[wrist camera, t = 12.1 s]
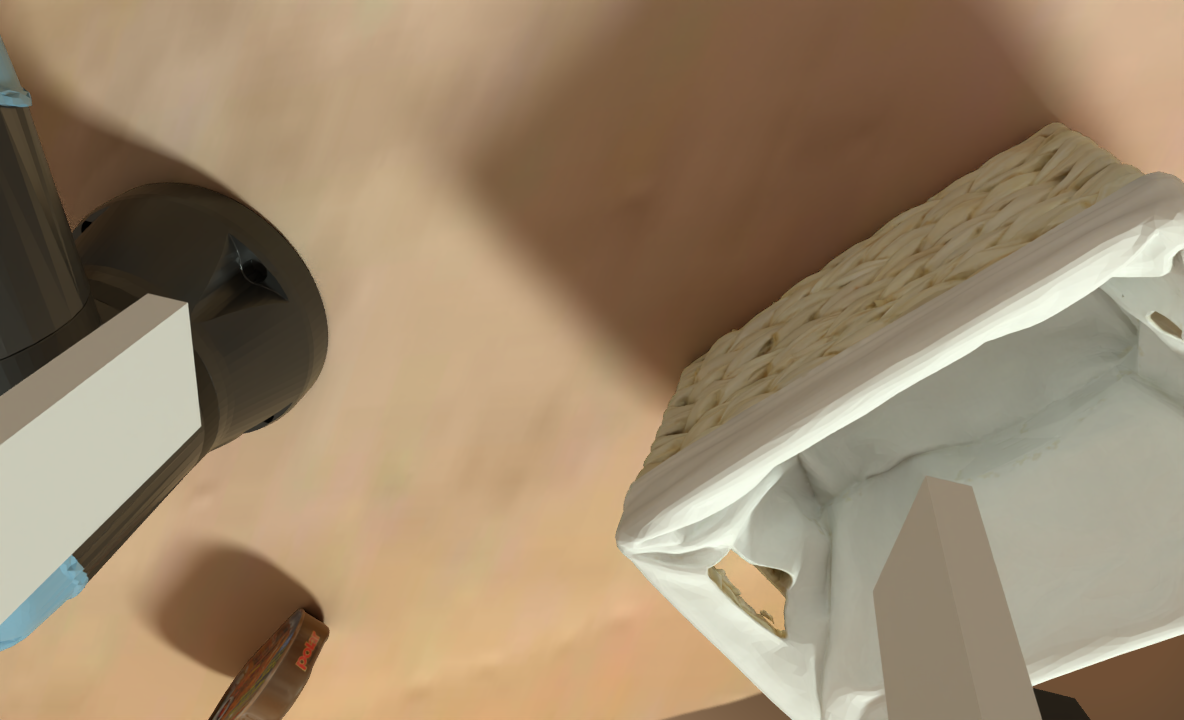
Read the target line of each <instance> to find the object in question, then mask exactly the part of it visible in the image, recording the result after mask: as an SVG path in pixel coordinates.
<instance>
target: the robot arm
mask: <svg viewBox="0 0 1184 720" xmlns="http://www.w3.org/2000/svg"><path fill="white" fill-rule="evenodd" d="M28 106H32V100H31V95H30V93H29V92H28V91H27V90H25V89H24V88H22V87H21V85H20V82H19V80H18V77H17V75H16V72H15V70H14V68H13V65H12V63H11V60H10V58H9V55H8V53H7V50H6V48H5V45H4V43H3V41H2V38H1V36H0V651H2V650H5V649H7V648H10V647H12V646H14V645H15V644H17V643H18V642H20V641H22V640H23V639H25V638H26V637H27V636H29V635H30V634H31V633H32V632H33V631H34V630H35V629H36V628H37V627H38V626H39V625H41V624H42V623H43V622H44V621H45V620H46V619H47V618H48V617H49V616H50V615H51V614H52V613H54V612H55V611H56V610H57V609H58V608H59V607H60V606H61V605H62V604H63V603H64V602H65V601H67V600H68V599H71V598H74V597H75V596H77V595H78V594H79V593H80V592H81V591H82V590H83V588H85V585H86V584H87V583H88V582H89V581H90V580H91V578H92V577H93V576H94V575H95V574H96V573H97V572H98V571H99V570H100V569H101V568H102V566H103V565H104V564H105V563H106V562H107V561H108V560H109V559H110V558H111V557H112V556H113V554H114V553H115V552H116V551H117V550H118V549H119V548H120V547H121V546H122V545H123V544H124V542H125V541H126V540H127V539H128V538H129V537H130V536H131V535H132V534H133V533H134V532H135V530H136V529H137V528H138V527H139V526H140V525H141V524H142V523H143V522H144V521H145V520H146V518H147V517H148V516H149V515H150V514H151V513H152V512H153V511H154V510H155V509H156V508H157V506H158V505H159V504H160V503H161V502H162V501H163V500H164V499H165V498H166V497H167V496H168V494H169V493H170V492H171V491H172V490H173V489H174V488H175V487H176V486H177V485H178V484H179V482H180V481H181V480H182V479H183V478H184V477H185V476H186V475H187V474H188V473H189V472H190V470H192V469H193V467H194V466H195V465H196V464H197V463H198V462H199V461H200V460H201V459H202V458H203V457H204V456H205V455H206V454H207V453H208V452H210V451H212V450H215V449H217V448H219V447H221V446H223V445H225V444H227V443H229V442H231V441H233V440H235V439H236V438H238V437H239V436H241V435H242V434H244V433H248V432H252V431H255V430H258V429H261V428H263V427H265V426H267V425H269V424H271V423H273V422H275V421H277V420H278V419H280V418H281V417H282V416H284V415H285V414H286V413H288V412H289V411H290V410H291V409H292V408H293V407H294V406H295V405H296V404H297V403H298V402H299V400H300V399H301V398H302V397H303V396H304V395H305V394H306V393H307V391H308V390H309V389H310V388H311V387H312V386H313V384H314V383H315V381H316V380H317V378H318V376H319V374H320V372H321V370H322V368H323V365H324V362H325V358H326V354H327V347H328V326H327V319H326V314H325V309H324V306H323V302H322V299H321V296H320V294H319V291H318V289H317V287H316V284H315V282H314V280H313V278H312V276H311V274H310V273H309V271H308V269H307V268H306V266H305V264H304V263H303V262H302V260H301V259H300V257H299V256H298V254H297V253H296V252H295V251H294V249H293V248H292V247H291V246H290V245H289V243H288V242H287V241H286V240H285V239H284V238H283V237H282V236H281V235H280V234H279V233H278V232H277V231H276V230H275V229H274V228H273V227H272V226H271V225H269V224H268V223H267V222H266V221H265V220H263V219H262V218H261V217H259V216H258V215H257V214H255V213H254V212H253V211H251V210H249V209H248V208H246V207H245V206H243V205H241V204H240V203H238V202H236V201H234V200H232V199H230V198H228V197H226V196H224V195H221V194H219V193H216V192H214V191H211V190H208V189H205V188H201V187H197V186H192V185H187V184H179V183H156V184H149V185H145V186H141V187H138V188H135V189H132V190H130V191H128V192H125V193H123V194H122V195H120V196H118V197H116V198H114V199H112V200H110V201H108V202H106V203H104V204H103V205H101V206H99V207H98V208H96V209H95V210H93V211H92V212H91V213H90V214H88V215H87V216H86V217H85V218H84V219H83V220H82V221H81V222H80V223H79V224H78V226H77V227H76V228H75V230H74V231H73V233H72V232H71V230H70V227H69V224H68V221H67V218H66V215H65V212H64V209H63V206H62V203H61V201H60V198H59V195H58V192H57V189H56V186H55V183H54V180H53V177H52V175H51V172H50V169H49V166H48V163H47V160H46V157H45V154H44V151H43V148H42V146H41V143H40V140H39V137H38V134H37V131H36V128H35V125H34V122H33V119H32V116H31V113H30V110H29V107H28ZM873 598H874V606H875V614H876V622H877V630H878V639H879V647H880V655H881V663H882V671H883V679H884V687H885V696H886V704H887V712H888V720H1090V718H1089V717H1088V716H1087V714H1086V713H1085V712H1084V710H1083V709H1082V708H1081V706H1080V705H1079V704H1078V702H1077V701H1076V700H1075V699H1074V698H1071V697H1067V696H1063V695H1059V694H1055V693H1051V692H1047V691H1043V690H1039V689H1035V688H1032V684H1031V681H1030V678H1029V674H1028V671H1027V668H1026V664H1025V661H1024V658H1023V654H1022V651H1021V648H1020V644H1019V641H1018V638H1017V634H1016V631H1015V628H1014V624H1013V621H1012V618H1011V614H1010V611H1009V608H1008V604H1007V601H1006V598H1005V594H1004V591H1003V588H1002V584H1001V581H1000V578H999V574H998V571H997V568H996V564H995V561H994V558H993V554H992V551H991V548H990V544H989V541H988V538H987V534H986V531H985V528H984V524H983V521H982V518H981V514H980V511H979V508H978V504H977V501H976V498H975V494H974V491H973V488H972V486H969V485H965V484H961V483H956V482H952V481H948V480H944V479H939V478H935V477H931V476H925V478H924V480H923V482H922V484H921V487H920V489H919V491H918V493H917V495H916V498H915V500H914V502H913V504H912V506H911V508H910V511H909V513H908V515H907V517H906V519H905V522H904V524H903V526H902V528H901V530H900V533H899V535H898V537H897V539H896V541H895V544H894V546H893V548H892V550H891V552H890V555H889V557H888V559H887V561H886V563H885V565H884V568H883V570H882V572H881V574H880V576H879V579H878V581H877V583H876V585H875V587H874V590H873Z"/></svg>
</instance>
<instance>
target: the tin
mask: <svg viewBox="0 0 1184 720" xmlns="http://www.w3.org/2000/svg"><path fill="white" fill-rule="evenodd" d="M328 637H329V628H328V627H327V626H326V625H325V624H324V623H322V622H321V621H319V620H317V619H316V618H314V617H312V616H311V615H309V614H307V613H306V612H305V611H304V610H303V609H299V610H297V611H296V612H295V613H294V614H293V615H292V616H291V617H290V618H289V619H288V620H287V621H286V622H285V623H284V624H283V625H282V626H281V627H280V628H279V629H278V630H277V631H276V632H275V634H274V635H273V636H272V637H271V638H270V639H269V640H268V641H267V642H266V643H265V644H264V645H263V646H262V647H261V648H260V649H259V650H258V651H257V653H256V654H255V655H254V656H253V657H252V658H251V659H250V660H249V661H248V662H247V664H246V665H245V666H244V667H243V669H242V670H241V671H240V672H239V674H238V675H237V677H236V678H235V679H234V681H233V682H232V683H231V685H230V686H229V688H228V689H227V691H226V692H225V694H224V696H223V697H222V699H221V700H220V702H219V703H218V705H217V707H216V708H215V710H214V712H213V713H212V715H211V716H210V718H209V719H208V720H281V719H282V718H283V717H284V716H285V714H286V713H287V712H288V711H289V709H290V708H291V706H292V705H293V704H294V702H295V701H296V699H297V698H298V696H299V695H300V693H301V691H302V690H303V688H304V686H305V685H306V683H307V681H308V679H309V677H310V674H311V671H312V668H313V666H314V663H315V661H316V659H317V657H318V655H319V653H320V651H321V649H322V647H323V645H324V643H325V642H326V641H327V639H328Z"/></svg>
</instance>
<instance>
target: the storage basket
mask: <svg viewBox="0 0 1184 720" xmlns="http://www.w3.org/2000/svg"><path fill="white" fill-rule="evenodd" d="M772 304H773V305H771V306H769V307H768V308H766V309H765V310H763V311H762V312H760V313H759V314H757V315H756V316H755V317H754V318H753V319H751V320H750V321H749V322H748V323H747V324H746V325H745V326H743V327H742V328H741V329H740V330H736V329H733V330H732V332H731V333H728V334H726V335H724V336H722V337H721V338H719V339H718V340H717V341H716V342H715V343H714V345H713V346H712V347H711V349H710V350H709V352H707V353H706V354H704V355H703V356H701V357H700V358H698V359H697V360H695V361H694V362H693V363H691V364H690V365H689V366H687V367H686V368H685V369H684V370H683V372H682V374H681V376H680V382H679V383H678V386H677V390H676V393H675V395H674V396H673V397H672V399H671V400H670V402H669V404H668V407H667V409H666V411H665V412H664V415H663V421H662V425H661V426H660V427H659V429H658V431H657V434H656V437H655V441H654V442H653V444H652V446H651V453H650V454H649V455H648V456H647V458H646V460H645V461H644V465H643V466H644V468H643V469H642V470H641V471H640V473H639V474H638V476H637V478H636V480H635V481H634V482H633V483H632V484H631V485H630V488H629V490H628V492H627V494H626V497H625V501H624V512H623V514H622V517H621V520H620V522H619V525H618V528H617V531H616V536H615V538H616V543H617V547H618V548H619V550H620V551H621V552H622V553H623V554H624V555H625V556H626V557H627V558H629V559H630V560H631V561H632V562H633V563H634V565H635V566H636V567H637V568H638V569H639V570H640V572H641V573H642V574H643V575H644V576H645V577H646V578H647V580H648V581H649V582H650V583H651V584H652V585H653V586H654V587H655V588H656V589H657V590H658V591H659V592H660V593H661V594H662V595H663V596H664V597H665V598H666V599H667V600H668V601H669V602H670V603H671V604H672V605H673V606H674V607H675V608H676V609H677V610H678V611H679V612H680V613H681V614H682V615H683V616H684V617H685V618H686V619H687V620H688V621H689V622H690V623H691V624H692V625H693V626H694V627H695V628H697V629H698V630H699V631H700V632H701V633H702V634H703V635H704V636H705V637H706V638H707V639H708V640H709V641H710V642H711V643H712V644H713V645H714V646H716V647H717V648H718V649H719V650H720V651H721V652H722V653H723V654H724V655H725V656H726V657H727V658H728V659H729V660H730V661H731V662H732V663H733V664H734V665H735V666H736V667H737V668H738V669H739V670H740V671H741V672H742V673H743V674H744V675H745V676H746V677H747V678H748V679H749V680H750V681H751V682H752V683H753V684H754V685H755V686H756V687H758V688H759V689H760V690H761V691H762V692H763V693H764V694H765V695H766V696H767V697H768V698H769V699H770V700H771V701H772V702H773V703H774V704H775V705H777V706H778V707H779V708H780V709H781V710H782V711H783V712H784V713H785V714H787V715H788V716H789V717H790V718H791V719H792V720H888V712H887V704H886V696H885V687H884V679H883V671H882V663H881V655H880V647H879V639H878V630H877V622H876V614H875V606H874V598H873V590H874V587H875V585H876V583H877V581H878V579H879V576H880V574H881V572H882V570H883V568H884V565H885V563H886V561H887V559H888V557H889V555H890V552H891V550H892V548H893V546H894V544H895V541H896V539H897V537H898V535H899V533H900V530H901V528H902V526H903V524H904V522H905V519H906V517H907V515H908V513H909V511H910V508H911V506H912V504H913V502H914V500H915V498H916V495H917V493H918V491H919V489H920V487H921V484H922V482H923V480H924V478H925V476H931V477H935V478H939V479H944V480H948V481H952V482H956V483H961V484H965V485H969V486H972V488H973V491H974V494H975V498H976V501H977V504H978V508H979V511H980V514H981V518H982V521H983V524H984V528H985V531H986V534H987V538H988V541H989V544H990V548H991V551H992V554H993V558H994V561H995V564H996V568H997V571H998V574H999V578H1000V581H1001V584H1002V588H1003V591H1004V594H1005V598H1006V601H1007V604H1008V608H1009V611H1010V614H1011V618H1012V621H1013V624H1014V628H1015V631H1016V634H1017V638H1018V641H1019V644H1020V648H1021V651H1022V654H1023V658H1024V661H1025V664H1026V668H1027V671H1028V674H1029V678H1030V681H1031V684H1032V686H1034V685H1036V684H1039V683H1042V682H1044V681H1047V680H1050V679H1052V678H1055V677H1058V676H1061V675H1064V674H1067V673H1070V672H1072V671H1075V670H1078V669H1081V668H1083V667H1087V666H1089V665H1092V664H1095V663H1098V662H1101V661H1104V660H1106V659H1109V658H1112V657H1115V656H1118V655H1121V654H1123V653H1127V652H1130V651H1133V650H1136V649H1139V648H1142V647H1145V646H1148V645H1151V644H1154V643H1157V642H1160V641H1163V640H1166V639H1169V638H1172V637H1175V636H1178V635H1181V634H1184V183H1183V182H1182V181H1181V180H1180V179H1179V178H1177V177H1176V176H1174V175H1171V174H1167V173H1162V172H1154V173H1150V174H1146V175H1145V174H1144V173H1142V172H1141V171H1140V170H1139V169H1137V168H1135V167H1134V166H1132V165H1127V164H1122V163H1121V162H1120V161H1119V160H1118V159H1117V158H1116V157H1114V156H1113V155H1112V154H1111V153H1109V152H1108V151H1107V150H1105V149H1102V148H1100V147H1099V146H1098V145H1097V144H1096V143H1095V142H1094V141H1092V140H1091V139H1090V138H1088V137H1085V136H1083V135H1082V134H1081V133H1079V132H1076V131H1072V130H1071V129H1069V128H1068V127H1066V126H1065V125H1064V124H1062V123H1059V122H1056V123H1051V124H1049V125H1047V126H1045V127H1044V128H1042V129H1041V130H1039V131H1038V132H1037V133H1035V134H1034V135H1033V136H1031V137H1030V138H1028V139H1027V140H1025V141H1024V142H1022V143H1020V144H1019V145H1016V146H1013V147H1011V148H1010V149H1008V150H1006V151H1004V152H1001V153H999V154H997V155H996V156H994V157H993V158H991V159H989V160H988V161H987V162H986V163H985V164H983V165H982V166H981V167H980V168H979V169H978V170H976V171H974V172H971V173H969V174H967V175H965V176H963V177H961V178H960V179H958V180H956V181H954V182H953V183H952V184H950V185H949V186H948V187H946V188H945V189H944V190H942V191H941V192H940V193H938V194H936V195H935V196H934V197H931V198H930V199H928V200H927V202H926V203H925V204H922V205H919V206H917V207H914V208H912V209H910V210H907V211H905V212H903V213H902V214H900V215H898V216H897V217H895V218H894V219H892V220H890V221H889V222H888V223H887V224H885V225H884V226H883V227H882V228H881V229H879V230H878V231H877V232H876V233H875V234H874V235H873V236H872V237H871V238H869V239H867V240H864V241H862V242H860V243H857V244H855V245H854V246H852V247H851V248H849V249H848V250H846V251H845V252H843V253H842V254H840V255H839V256H837V257H836V258H835V259H833V260H832V261H830V262H829V263H828V264H827V265H826V266H825V267H824V268H823V269H822V270H821V271H820V272H818V273H815V274H813V275H810V276H808V277H806V278H805V279H803V280H801V281H800V282H799V283H797V284H796V285H794V286H793V287H792V288H791V289H789V290H788V291H787V292H786V293H785V294H784V295H783V296H782V297H781V299H780V300H779V301H777V302H776V303H775V302H773V303H772ZM730 549H731V550H732V551H734V552H735V553H737V554H738V555H739V556H740V557H741V558H742V559H744V560H745V561H747V562H748V563H750V564H752V565H754V566H755V567H756V568H757V569H758V570H759V571H760V572H761V573H762V574H763V575H764V576H765V577H766V578H767V580H769V581H770V582H771V583H772V584H773V585H774V586H775V587H776V588H777V589H778V590H779V591H780V592H781V593H782V595H783V596H784V597H785V598H786V601H785V606H784V620H785V624H784V626H785V630H782V631H780V630H778V629H777V630H776V629H775V628H774V627H773V626H772V625H771V624H770V623H768V622H767V621H766V620H765V618H764V617H763V616H765V617H766V618H768V619H770V620H771V621H772V622H773V617H772V616H771V615H769V614H768V613H767V612H766V611H764V610H762V611H760V613H761V615H763V616H761V615H760V614H756V612H755V611H754V609H753V608H752V607H751V606H749V605H748V604H747V603H746V602H745V601H744V600H743V599H742V597H740V596H739V595H740V594H741V592H740V591H739V590H738V589H737V588H736V587H734V586H733V584H732V583H731V582H730V581H729V579H728V578H727V576H725V574H726V573H725V571H724V570H723V569H716V568H715V567H714V565H715V564H717V563H718V562H720V561H721V560H722V558H723V557H724V556H726V555H727V554H728V552H729V550H730ZM773 624H774V622H773Z"/></svg>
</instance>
